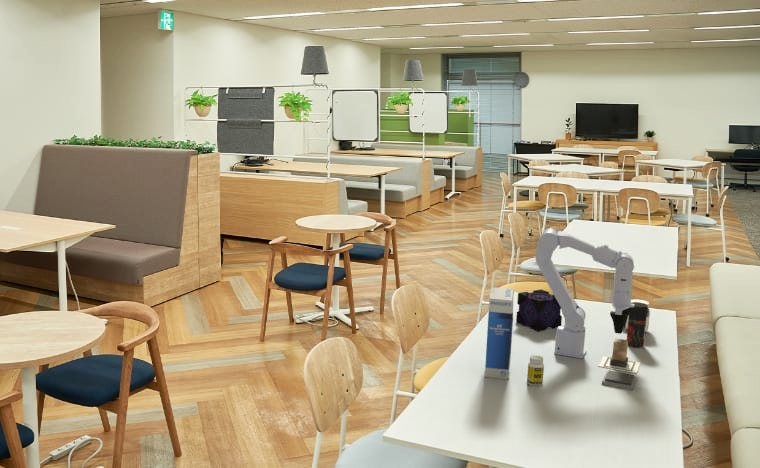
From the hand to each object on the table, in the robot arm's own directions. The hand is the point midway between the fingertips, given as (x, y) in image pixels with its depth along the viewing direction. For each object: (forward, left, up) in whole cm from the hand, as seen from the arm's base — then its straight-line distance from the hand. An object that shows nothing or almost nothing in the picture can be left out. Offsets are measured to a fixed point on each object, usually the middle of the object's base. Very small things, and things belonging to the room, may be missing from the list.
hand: (619, 329), depth 241 cm
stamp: (+1, -5, -10) cm, 11 cm away
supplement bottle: (-20, -34, -11) cm, 41 cm away
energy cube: (-33, +23, -11) cm, 41 cm away
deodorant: (+3, +18, -11) cm, 21 cm away
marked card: (+1, -5, -10) cm, 12 cm away
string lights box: (-33, -30, -11) cm, 46 cm away
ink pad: (+3, -20, -10) cm, 23 cm away
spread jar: (0, +35, -11) cm, 37 cm away
